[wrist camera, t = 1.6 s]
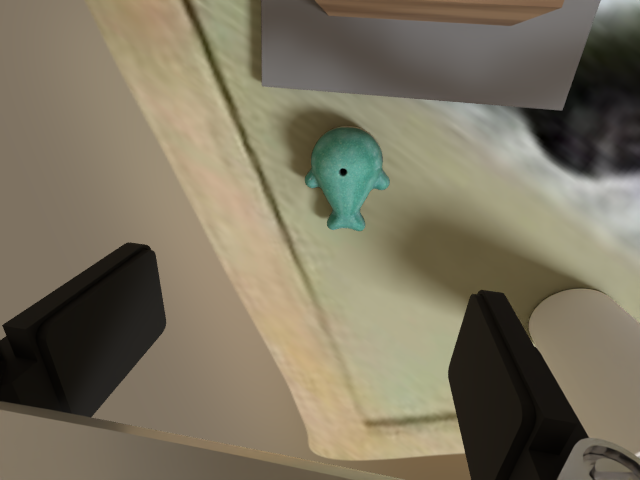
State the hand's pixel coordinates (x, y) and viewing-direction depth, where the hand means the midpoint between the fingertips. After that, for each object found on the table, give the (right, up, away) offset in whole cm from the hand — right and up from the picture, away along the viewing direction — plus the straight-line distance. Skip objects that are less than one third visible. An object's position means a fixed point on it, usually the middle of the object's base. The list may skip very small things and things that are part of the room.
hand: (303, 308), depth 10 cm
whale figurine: (+3, +7, +15) cm, 17 cm away
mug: (+22, -4, +17) cm, 28 cm away
